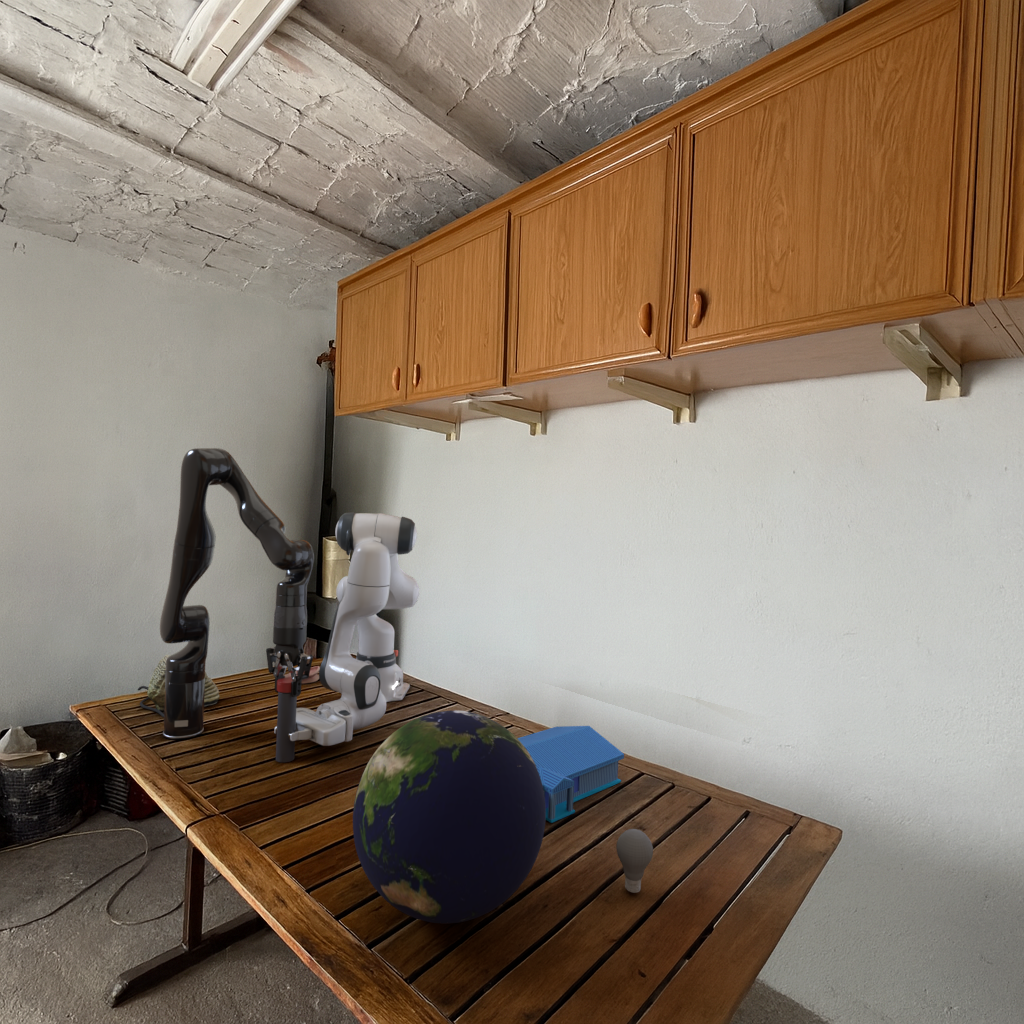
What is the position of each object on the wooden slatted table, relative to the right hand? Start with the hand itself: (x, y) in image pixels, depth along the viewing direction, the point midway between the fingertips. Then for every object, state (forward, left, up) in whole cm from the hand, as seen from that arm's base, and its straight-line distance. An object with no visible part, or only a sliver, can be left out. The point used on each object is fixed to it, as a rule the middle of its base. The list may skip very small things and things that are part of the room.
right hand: (282, 734), depth 151 cm
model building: (-2, +61, -6) cm, 61 cm away
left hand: (-1, 0, +9) cm, 10 cm away
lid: (-1, 0, +12) cm, 12 cm away
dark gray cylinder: (-1, 0, -6) cm, 6 cm away
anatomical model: (-59, -31, -6) cm, 67 cm away
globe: (+41, +54, -6) cm, 68 cm away
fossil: (-25, -47, -6) cm, 54 cm away
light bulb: (+29, +83, -6) cm, 88 cm away
